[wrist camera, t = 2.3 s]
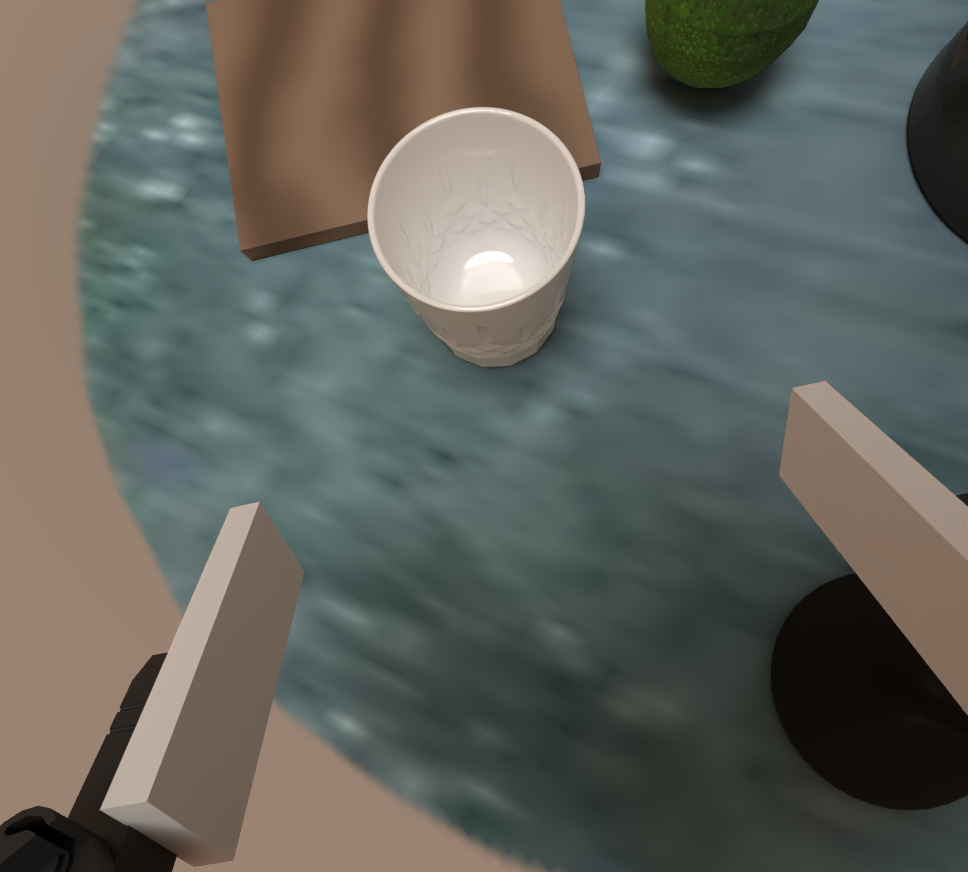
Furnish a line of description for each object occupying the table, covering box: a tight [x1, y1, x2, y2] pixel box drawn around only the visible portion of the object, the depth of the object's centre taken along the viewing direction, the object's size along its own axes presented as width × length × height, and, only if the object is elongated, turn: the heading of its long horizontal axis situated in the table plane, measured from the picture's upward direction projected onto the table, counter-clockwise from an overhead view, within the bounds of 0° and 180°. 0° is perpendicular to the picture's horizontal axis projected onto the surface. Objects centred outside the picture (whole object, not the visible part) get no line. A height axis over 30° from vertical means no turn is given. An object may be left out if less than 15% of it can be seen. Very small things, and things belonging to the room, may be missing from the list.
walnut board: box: [206, 0, 601, 260], centre depth 31 cm, size 20×16×1 cm
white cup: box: [367, 107, 585, 367], centre depth 25 cm, size 8×8×10 cm
